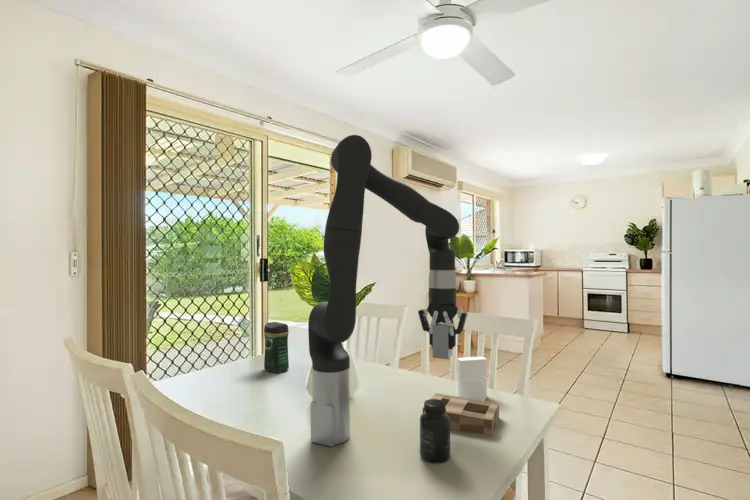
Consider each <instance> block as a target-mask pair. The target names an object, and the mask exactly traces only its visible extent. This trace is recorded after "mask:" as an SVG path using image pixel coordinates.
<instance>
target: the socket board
mask: <svg viewBox="0 0 750 500" xmlns="http://www.w3.org/2000/svg"><path fill="white" fill-rule="evenodd" d="M430 399H438V400H442V401H444V402H445V403H446V412H445V413H446V414H447V415H448V416H449V418H450V430H456V431H462V432H468V433H472V434H476V435H477V434H478V435H483V436H487V437H492V436H493V434H494V432H495V429H496V426H497V423H498V422H499V418H500V404H499V402H492V401H487V400H484V401H481V400H475V399H469V398H462V397H458V396H455V395H449V394H443V393H442V394H441V393H434V394H433V395H432V396H431V398H430ZM422 413H424V406H423V407H422ZM497 421H498V422H497Z"/></svg>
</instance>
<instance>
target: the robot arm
mask: <svg viewBox="0 0 750 500" xmlns="http://www.w3.org/2000/svg"><path fill="white" fill-rule="evenodd" d="M330 163H331V166H332V168H333V169H334V171H335V172H336V174H337V176H336V185H335V186H336V187H335V192H334V194H333V198H332V201H331V204H330V208H329V211H328V215H327V218H326V223H325V229H324V236H323V256H324V261H325V265H326V266H325V267H326V268H327V272H328V273H327V274H328V278H329V289H328V290H329V291H328V297H327V301H321V302H319V303H317V304H316V305H314V307H313V308H312V309H311V311H310V313H309V317H308V321H307V322H308V323H307V324H308V326H307V328H308V334H307V335H308V351H309V355H310V356H309V357H310V359H311V363H312V401H311V403H310V442H312V443H316V444H319V445H323V446H327V447H331V448H333V447H334V446H335V445H336V446H337V445H339V444H342V443H345V442H347V441H348V440H349V439H350V436H351V402H350V401H351V399H350V398H351V391H350V390H351V387H350V385H351V381H350V380H351V377H350V375H351V371H350V370H351V369H350V368H351V367H350V366H351V364H350V361H351V359H350V356H349V354H348V352H347V351H346V349H345V348H344V345H343V344H342V343H344V342H346V341H347V340H348V339H350V338H351V336H352V335H353V333H354V331H355V330H354V329H355V326H356V320H357V281H358V269H359V257H360V251H361V241H362V233H363V220H364V218H363V217H364V211H365V209H364V207H365V191H366V190H368V191H369V192H371V193H372V194H374V195H376V196H377V197H378V198H381V199H382V200H383V201H385V202H386V203H388V204H390V206H392V207H393V208H395V209H396V210H398V211H399V212H400V213H401V214H403V215H404V216H405V217H407V218H408V219H409V220H411V221H412V222H414V223H417V224H421V225H423V226H425V229H424V230H425V232H424V233H425V239H426V245H427V249H428V253H429V259H428V260H429V273H428V306H427V307H426V308H422V309H419V310H418V312H417V313H418V317H419V320H420V323H421V324H420V325H421V326H422V327H421V328H422V330H423V331H424V332H427V333H428V334H429V344H430V346H431V347H432V348H433V325H435V324H437V323H446V325H447V326H449V333H450V336H449V349H452V350H454V347H456V345H457V342H456V340H457V338H456V337H457V335H460V334H461V333H462V332H463V331H464V327H465V324H466V320H467V317H468V312H467V311H461V310H459V308H458V307H457V276H456V275H457V274H456V255H455V252H454V250H453V249H452V248H450V244H449V240H451V239H453V238H455V237H456V236H457V235H458V233H459V231H460V224H459V220H458V219H457V218H456V216H455V215H453V214H452V213H451V212H450V211H448V210H447V209H445V208H443V207H441V206H439V205H437V204H436V203H433V202H431V201H430V200H428V199H427V198H426V197H424V196H423V195H422V194H421V193H419V192H418V191H417V190H416V189H414V188H412V187H411V186H409V185H408V184H406V183H405V182H402V181H400V180H397V179H395V178H392V177H390V176H389V175H387V174H385V173H383V172H381V171H380V170H378V169H377V168H376V167H375V166H374V165H372V164H371V163H372V148H371V145H370V144H369V142H368V141H367V139H365V137H363V136H361V135H359V134H350V135H347V136H345V137H344V138H343V139H341V140H340V141H339V142H338V143H337V145H336V146H335V147H334V149H333V150H332V152H331V156H330ZM428 314H429V315H430V317H431V321H430V323H429V320H428ZM456 315H457V318H458V320H459V321H458V323H457V326H455V325H456V324H455V321H454V318H455V317H456Z"/></svg>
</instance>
